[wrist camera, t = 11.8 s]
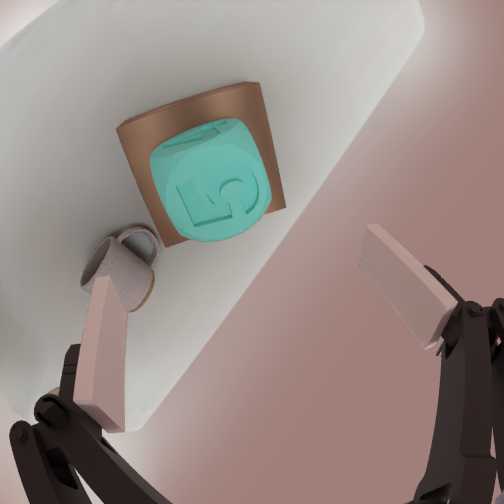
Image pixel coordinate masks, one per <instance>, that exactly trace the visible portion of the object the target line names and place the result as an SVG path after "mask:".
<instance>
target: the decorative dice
mask: <svg viewBox="0 0 504 504" xmlns="http://www.w3.org/2000/svg"><path fill="white" fill-rule="evenodd" d="M150 168H151V172H152V176H153V180H154V183H155V186H156V189H157V191H158V194H159V197H160V199H161V202H162V204H163V206H164V208H165V210H166V212H167V215H168V216H169V218H170V220H171V222H172V224H173V225H174V227H175V228H176V230H177V231H178V233H179V234H180V235H182V236H184V237H186V238H189V239H192V240H196V241H202V242H213V241H219V240H224V239H227V238H230V237H233V236H235V235H238V234H240V233H242V232H244V231H245V230H247V229H248V228H250V227H251V226H253V225H254V224H255V223H256V222H257V221H258V220H259V219H260V218H261V217H262V216H263V214H264V213H265V211H266V210H267V208H268V206H269V204H270V202H271V199H272V196H271V189H270V184H269V180H268V177H267V173H266V170H265V167H264V164H263V161H262V159H261V156H260V154H259V151H258V149H257V146H256V144H255V142H254V140H253V138H252V136H251V134H250V132H249V130H248V129H247V127H246V126H245V124H244V123H243V122H242V121H241V120H238V119H236V118H227V119H221V120H216V121H212V122H208V123H205V124H202V125H199V126H196V127H194V128H191V129H189V130H186V131H184V132H182V133H180V134H178V135H176V136H174V137H172V138H170V139H168V140H167V141H165V142H163V143H162V144H161V145H159V146H158V147H157V148H155V149H154V150H153V152H152V153H151V156H150Z"/></svg>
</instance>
